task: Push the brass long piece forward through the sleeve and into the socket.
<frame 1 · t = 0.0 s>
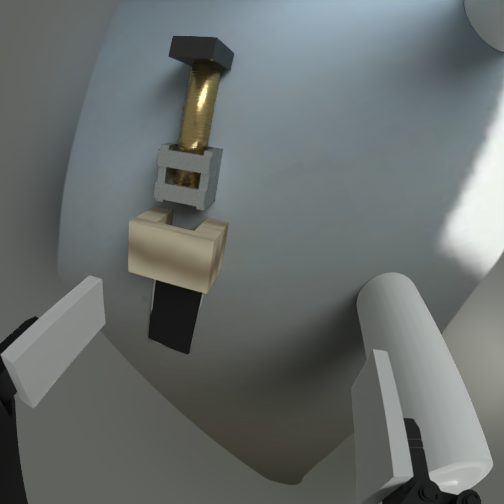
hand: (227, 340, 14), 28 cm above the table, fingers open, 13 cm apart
sleeve: (195, 171, 40), on the table
cylinder container: (387, 300, 43), on the table
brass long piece: (191, 118, 33), point 4 cm above the table, slide at 0.0 cm
socket: (187, 237, 44), on the table
tall pillar cylinder: (493, 19, 23), on the table
smartphone: (175, 310, 50), on the table
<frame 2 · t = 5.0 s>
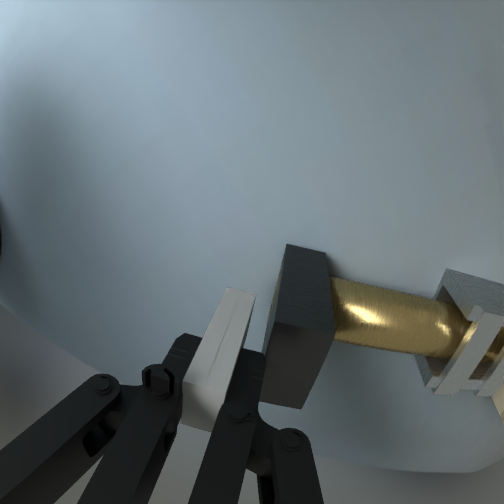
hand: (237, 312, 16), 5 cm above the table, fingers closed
sleeve: (463, 315, 19), on the table
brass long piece: (423, 343, 15), point 4 cm above the table, slide at 1.6 cm, touching gripper
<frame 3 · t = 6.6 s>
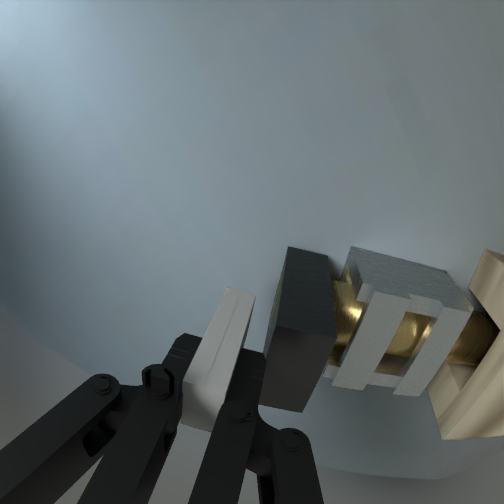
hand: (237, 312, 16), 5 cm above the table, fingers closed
sleeve: (384, 302, 19), on the table
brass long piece: (424, 347, 15), point 4 cm above the table, slide at 8.8 cm, touching gripper
socket: (485, 323, 19), on the table
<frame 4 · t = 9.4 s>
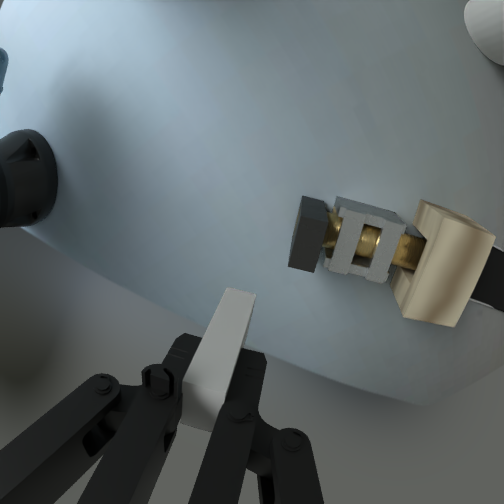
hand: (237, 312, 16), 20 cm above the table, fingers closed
sleeve: (358, 231, 34), on the table
cylinder container: (494, 31, 21), on the table
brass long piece: (381, 249, 30), point 4 cm above the table, slide at 8.9 cm
socket: (430, 251, 33), on the table
smartphone: (498, 278, 33), on the table
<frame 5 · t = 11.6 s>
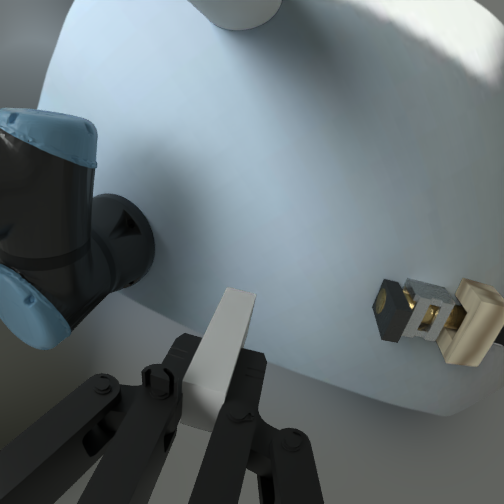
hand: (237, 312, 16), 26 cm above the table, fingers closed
sleeve: (418, 301, 42), on the table
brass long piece: (436, 319, 38), point 4 cm above the table, slide at 8.9 cm
socket: (463, 311, 42), on the table
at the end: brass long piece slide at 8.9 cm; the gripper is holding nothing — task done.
